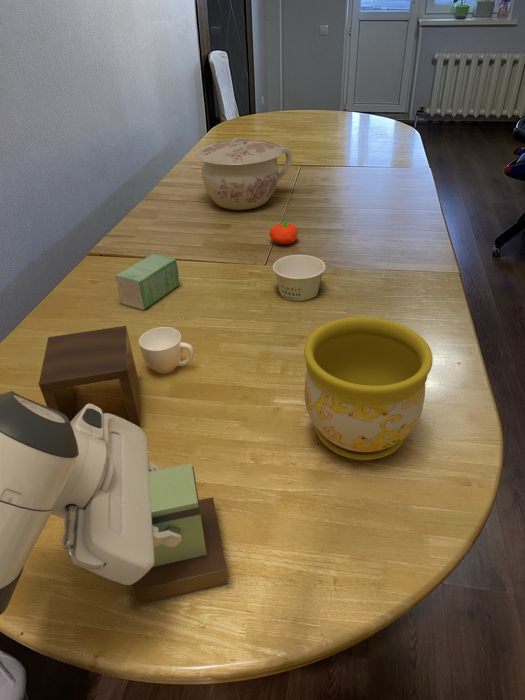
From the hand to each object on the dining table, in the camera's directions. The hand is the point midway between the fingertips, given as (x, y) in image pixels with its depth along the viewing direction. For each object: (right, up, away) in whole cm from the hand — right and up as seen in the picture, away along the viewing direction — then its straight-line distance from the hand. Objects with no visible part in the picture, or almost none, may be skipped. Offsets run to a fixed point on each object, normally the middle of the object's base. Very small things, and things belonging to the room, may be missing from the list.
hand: (175, 511), depth 62 cm
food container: (+19, +33, +60) cm, 71 cm away
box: (-16, +33, +61) cm, 71 cm away
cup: (-7, +16, +37) cm, 41 cm away
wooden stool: (-18, +9, +28) cm, 35 cm away
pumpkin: (+16, +49, +83) cm, 97 cm away
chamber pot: (+4, +68, +109) cm, 129 cm away
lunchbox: (0, -4, +3) cm, 5 cm away
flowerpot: (+26, +6, +22) cm, 34 cm away
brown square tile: (0, -7, +5) cm, 8 cm away
